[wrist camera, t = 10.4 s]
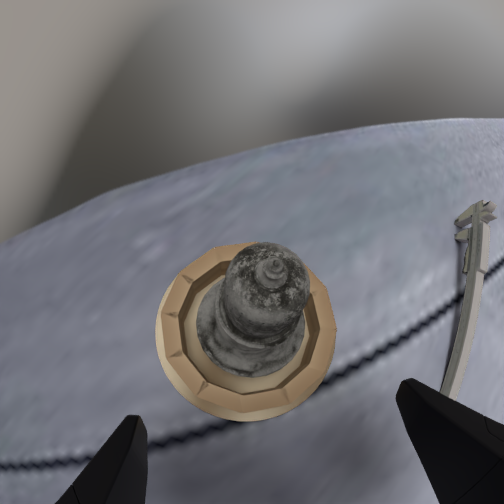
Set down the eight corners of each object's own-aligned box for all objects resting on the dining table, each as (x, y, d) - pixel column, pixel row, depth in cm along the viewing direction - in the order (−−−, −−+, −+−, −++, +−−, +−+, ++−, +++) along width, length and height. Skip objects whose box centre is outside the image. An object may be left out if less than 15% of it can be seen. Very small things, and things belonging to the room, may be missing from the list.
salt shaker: (230, 394, 17) (238, 417, 6) (185, 316, 19) (134, 224, 8) (308, 347, 19) (410, 296, 8) (261, 275, 21) (300, 152, 10)
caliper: (452, 221, 26) (487, 188, 20) (459, 225, 26) (495, 193, 20) (427, 428, 18) (479, 433, 12) (436, 429, 18) (488, 433, 12)
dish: (347, 283, 22) (366, 267, 19) (300, 439, 17) (314, 450, 14) (199, 230, 23) (195, 205, 20) (133, 378, 18) (115, 377, 15)
